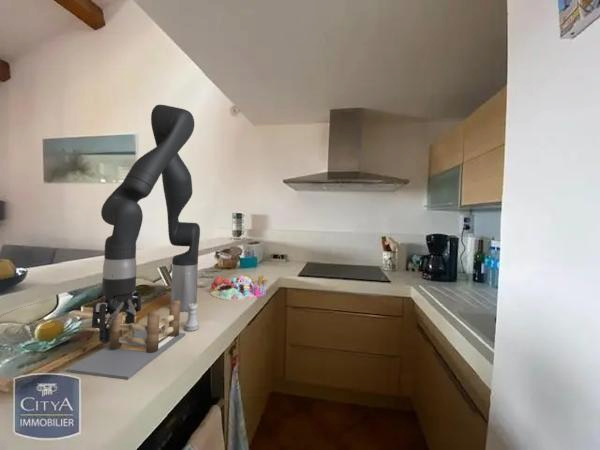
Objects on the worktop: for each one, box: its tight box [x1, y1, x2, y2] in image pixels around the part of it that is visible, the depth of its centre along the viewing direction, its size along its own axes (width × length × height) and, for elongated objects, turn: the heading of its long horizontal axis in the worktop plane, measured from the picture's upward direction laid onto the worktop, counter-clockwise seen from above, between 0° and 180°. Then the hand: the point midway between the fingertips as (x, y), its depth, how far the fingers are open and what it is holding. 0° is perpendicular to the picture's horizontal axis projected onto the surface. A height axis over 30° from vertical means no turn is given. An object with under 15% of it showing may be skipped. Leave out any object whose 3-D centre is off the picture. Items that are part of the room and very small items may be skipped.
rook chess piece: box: [184, 303, 200, 332], centre depth 91 cm, size 4×4×8 cm
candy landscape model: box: [209, 273, 269, 301], centre depth 135 cm, size 25×24×9 cm
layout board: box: [66, 330, 186, 380], centre depth 75 cm, size 24×15×1 cm, turn 173°
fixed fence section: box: [146, 300, 181, 353], centre depth 79 cm, size 13×3×10 cm, turn 173°
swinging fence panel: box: [108, 312, 147, 349], centre depth 75 cm, size 10×3×9 cm, turn 88°
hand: (117, 335), depth 76 cm, fingers open, 8 cm apart
